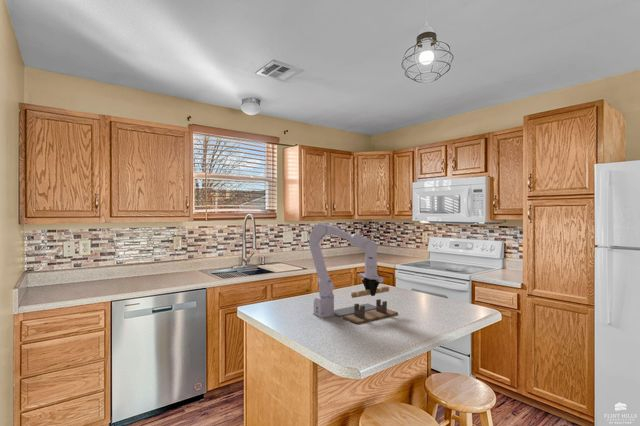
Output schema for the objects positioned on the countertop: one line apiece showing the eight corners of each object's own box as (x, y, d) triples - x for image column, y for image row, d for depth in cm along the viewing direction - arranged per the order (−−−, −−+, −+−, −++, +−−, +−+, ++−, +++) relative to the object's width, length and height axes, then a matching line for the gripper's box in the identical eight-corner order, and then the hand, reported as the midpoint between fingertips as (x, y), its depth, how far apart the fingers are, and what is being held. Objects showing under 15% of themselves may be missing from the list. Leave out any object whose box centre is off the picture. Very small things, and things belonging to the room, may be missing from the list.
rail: (354, 298, 153) (354, 292, 153) (351, 297, 155) (351, 291, 155) (389, 291, 166) (389, 286, 166) (385, 291, 168) (385, 286, 168)
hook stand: (356, 324, 149) (356, 309, 149) (342, 318, 157) (342, 304, 157) (397, 314, 164) (397, 301, 164) (383, 309, 172) (383, 296, 172)
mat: (339, 317, 159) (339, 315, 159) (328, 312, 167) (328, 311, 167) (379, 308, 174) (379, 307, 174) (367, 304, 182) (367, 303, 182)
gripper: (388, 267, 157) (388, 297, 157) (366, 263, 169) (366, 290, 169) (376, 268, 153) (376, 299, 153) (355, 264, 165) (355, 292, 165)
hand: (370, 295), depth 161 cm, fingers closed on rail, 2 cm apart
